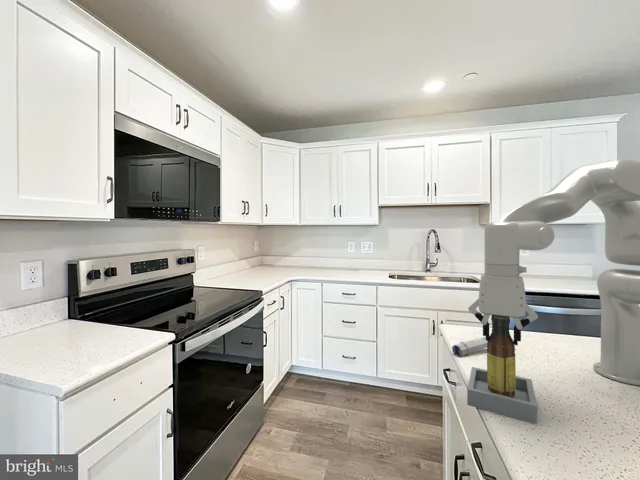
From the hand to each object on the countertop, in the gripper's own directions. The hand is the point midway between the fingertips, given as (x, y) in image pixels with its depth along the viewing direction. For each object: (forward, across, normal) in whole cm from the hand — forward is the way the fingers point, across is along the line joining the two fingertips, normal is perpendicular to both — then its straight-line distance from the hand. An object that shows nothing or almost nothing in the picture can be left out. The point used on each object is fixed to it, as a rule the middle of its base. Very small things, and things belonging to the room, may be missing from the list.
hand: (501, 340), depth 74 cm
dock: (+15, 0, 0) cm, 15 cm away
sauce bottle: (+14, 0, 0) cm, 14 cm away
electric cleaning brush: (+16, +5, -33) cm, 37 cm away
